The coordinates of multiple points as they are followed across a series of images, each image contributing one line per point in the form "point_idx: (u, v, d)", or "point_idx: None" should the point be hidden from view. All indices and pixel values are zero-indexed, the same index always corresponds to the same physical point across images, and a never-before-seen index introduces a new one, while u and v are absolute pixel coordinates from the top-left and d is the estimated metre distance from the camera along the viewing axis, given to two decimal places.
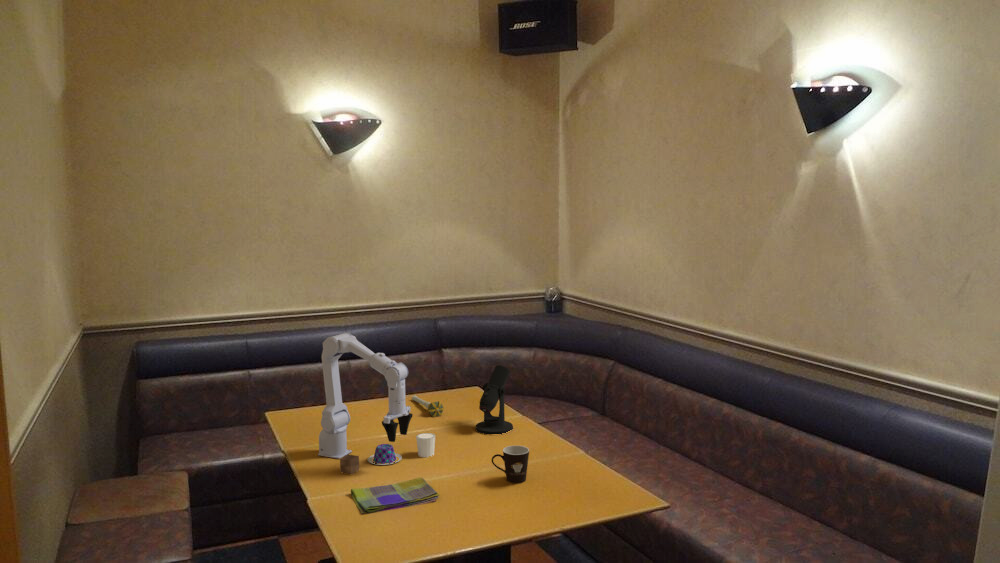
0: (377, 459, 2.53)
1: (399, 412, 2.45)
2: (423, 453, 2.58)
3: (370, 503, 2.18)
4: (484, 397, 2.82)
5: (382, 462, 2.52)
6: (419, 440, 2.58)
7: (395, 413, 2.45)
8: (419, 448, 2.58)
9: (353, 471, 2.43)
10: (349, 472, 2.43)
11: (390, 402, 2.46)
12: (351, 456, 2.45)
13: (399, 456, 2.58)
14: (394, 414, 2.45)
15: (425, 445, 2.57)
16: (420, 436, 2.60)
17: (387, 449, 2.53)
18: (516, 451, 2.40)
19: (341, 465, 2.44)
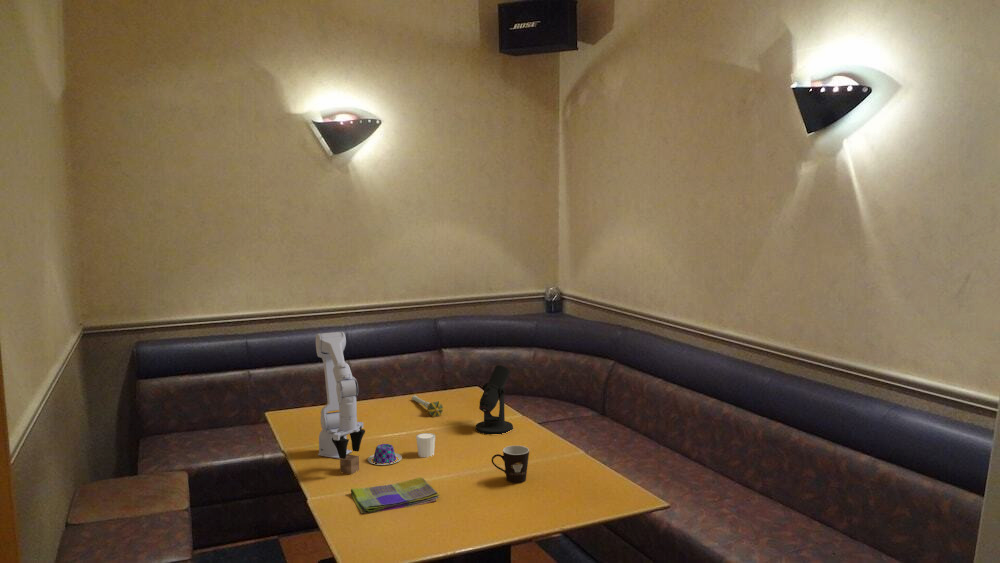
0: (377, 459, 2.53)
1: (350, 428, 2.41)
2: (423, 453, 2.58)
3: (370, 503, 2.18)
4: (484, 397, 2.82)
5: (382, 462, 2.52)
6: (419, 440, 2.58)
7: (346, 429, 2.41)
8: (419, 448, 2.58)
9: (353, 471, 2.43)
10: (349, 472, 2.43)
11: (340, 418, 2.41)
12: (351, 456, 2.45)
13: (399, 456, 2.58)
14: (345, 430, 2.41)
15: (425, 445, 2.57)
16: (420, 436, 2.60)
17: (387, 449, 2.53)
18: (516, 451, 2.40)
19: (341, 465, 2.44)
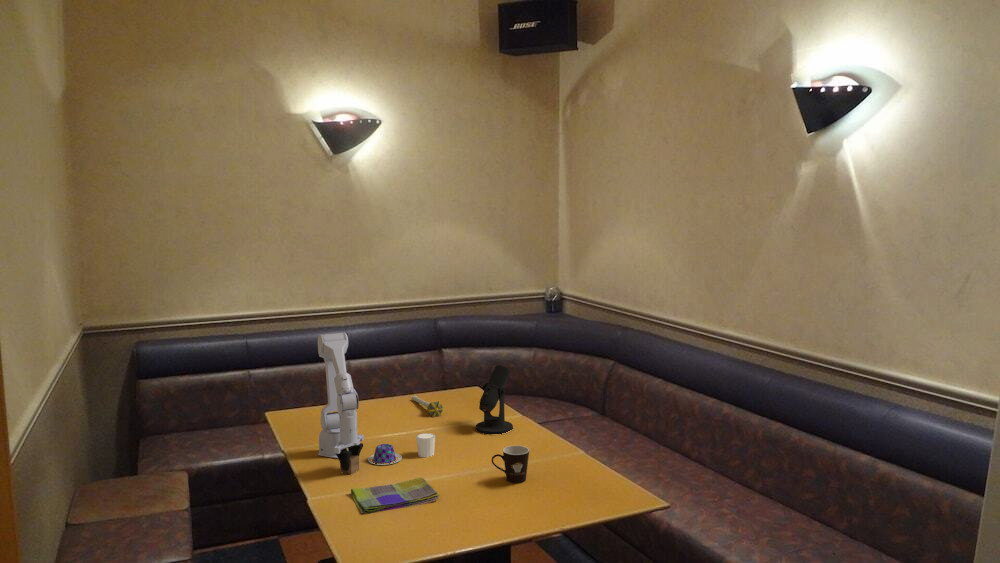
0: (377, 459, 2.53)
1: (350, 442, 2.41)
2: (423, 453, 2.58)
3: (370, 503, 2.18)
4: (484, 397, 2.82)
5: (382, 462, 2.52)
6: (419, 440, 2.58)
7: (346, 443, 2.41)
8: (419, 448, 2.58)
9: (353, 471, 2.43)
10: (349, 472, 2.43)
11: (341, 432, 2.42)
12: (351, 456, 2.45)
13: (399, 456, 2.58)
14: (345, 444, 2.41)
15: (425, 445, 2.57)
16: (420, 436, 2.60)
17: (387, 449, 2.53)
18: (516, 451, 2.40)
19: None
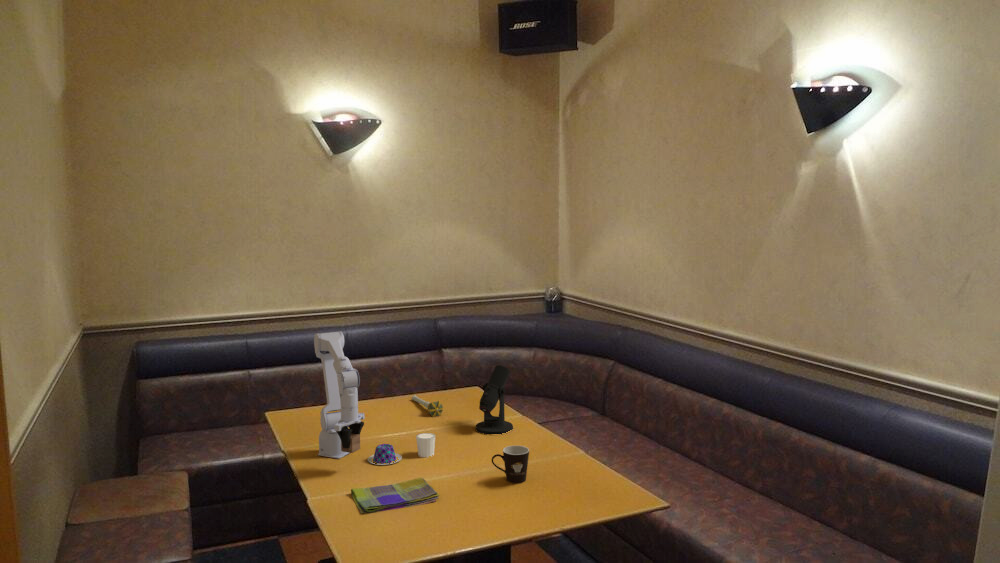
0: (376, 459, 2.53)
1: (351, 419, 2.41)
2: (423, 453, 2.58)
3: (370, 503, 2.18)
4: (484, 397, 2.82)
5: (381, 462, 2.52)
6: (419, 440, 2.58)
7: (347, 420, 2.41)
8: (419, 448, 2.58)
9: (354, 449, 2.43)
10: (350, 450, 2.42)
11: (341, 409, 2.41)
12: (352, 435, 2.45)
13: (399, 456, 2.58)
14: (346, 421, 2.41)
15: (425, 445, 2.57)
16: (420, 436, 2.60)
17: (386, 449, 2.53)
18: (516, 451, 2.40)
19: None
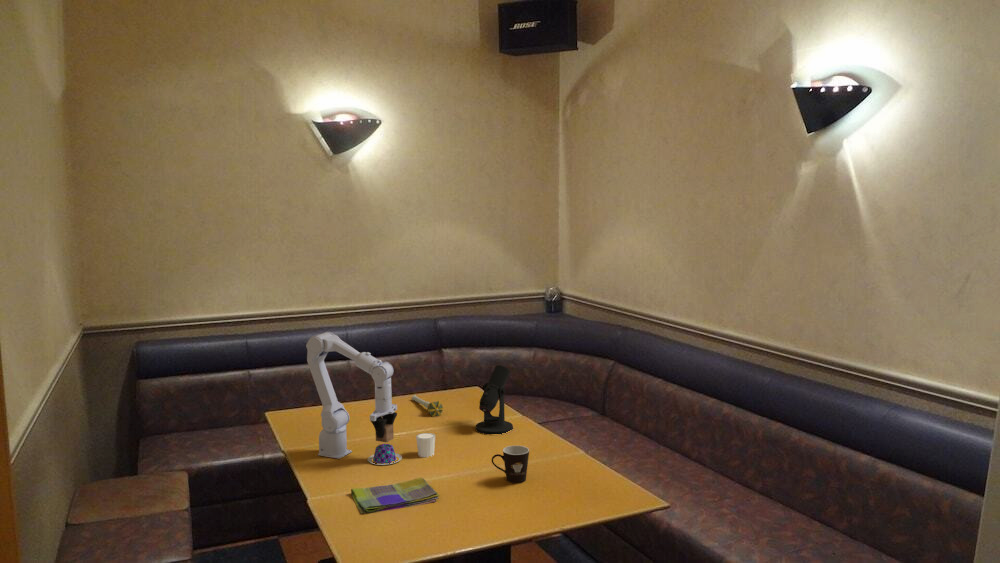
0: (376, 459, 2.53)
1: (385, 410, 2.51)
2: (423, 453, 2.58)
3: (370, 503, 2.18)
4: (484, 397, 2.82)
5: (381, 462, 2.52)
6: (419, 440, 2.58)
7: (381, 411, 2.51)
8: (419, 448, 2.58)
9: (388, 439, 2.53)
10: (384, 440, 2.53)
11: (376, 400, 2.52)
12: (385, 425, 2.55)
13: (399, 457, 2.58)
14: (380, 412, 2.51)
15: (425, 445, 2.57)
16: (420, 436, 2.60)
17: (386, 449, 2.53)
18: (516, 451, 2.40)
19: None
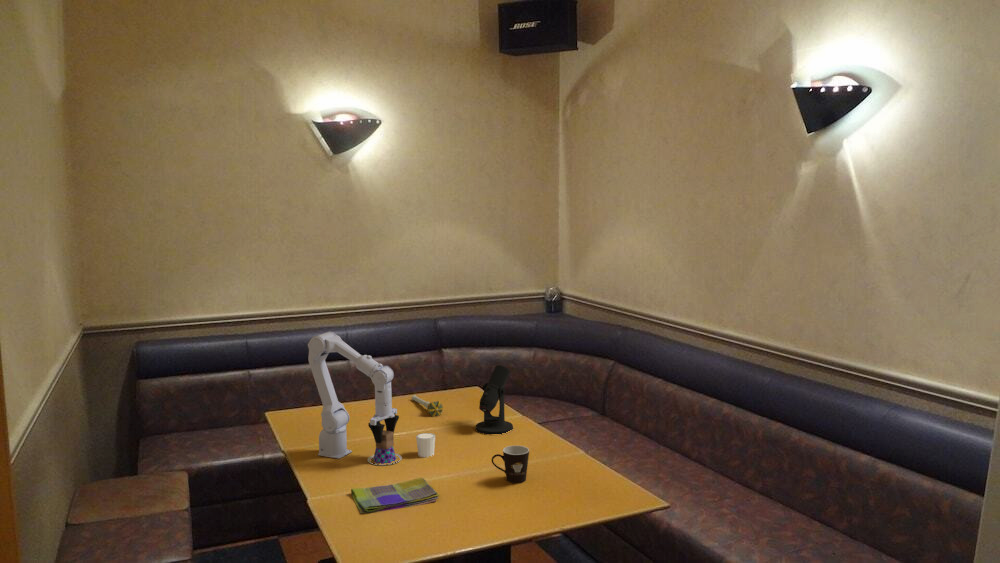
0: (376, 459, 2.53)
1: (385, 414, 2.52)
2: (423, 453, 2.58)
3: (370, 503, 2.18)
4: (484, 397, 2.82)
5: (380, 462, 2.52)
6: (419, 440, 2.58)
7: (381, 415, 2.51)
8: (419, 448, 2.58)
9: (388, 446, 2.54)
10: (384, 447, 2.53)
11: (376, 405, 2.52)
12: (386, 432, 2.55)
13: (399, 457, 2.58)
14: (380, 416, 2.51)
15: (425, 445, 2.57)
16: (420, 436, 2.60)
17: (386, 449, 2.53)
18: (516, 451, 2.40)
19: None
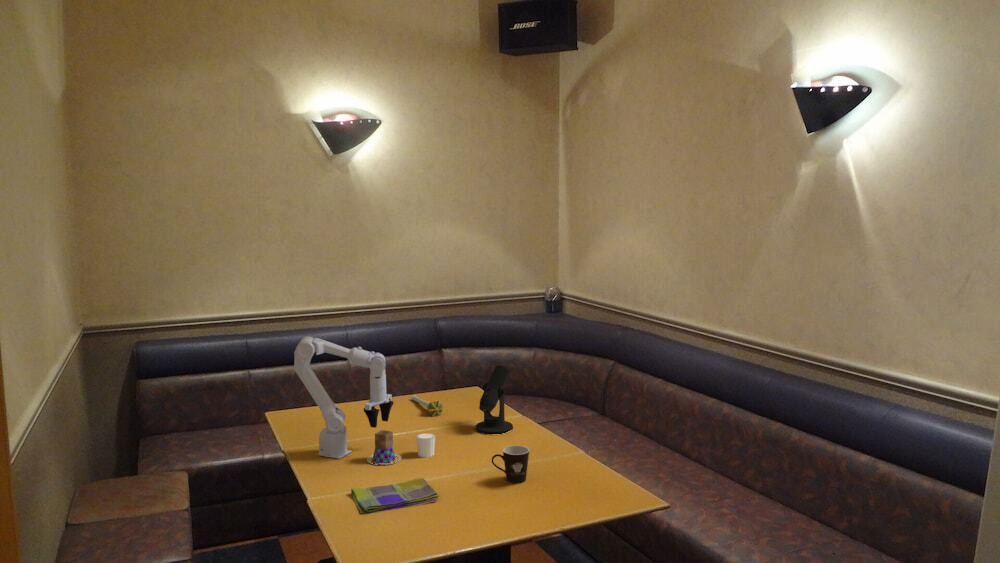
0: (375, 459, 2.53)
1: (380, 399, 2.59)
2: (423, 453, 2.58)
3: (370, 503, 2.18)
4: (484, 397, 2.82)
5: (380, 462, 2.52)
6: (419, 440, 2.58)
7: (376, 400, 2.59)
8: (419, 448, 2.58)
9: (387, 446, 2.54)
10: (384, 446, 2.53)
11: (371, 390, 2.59)
12: (385, 432, 2.55)
13: (399, 457, 2.58)
14: (375, 401, 2.59)
15: (425, 445, 2.57)
16: (420, 436, 2.60)
17: (385, 449, 2.53)
18: (516, 451, 2.40)
19: (376, 440, 2.54)
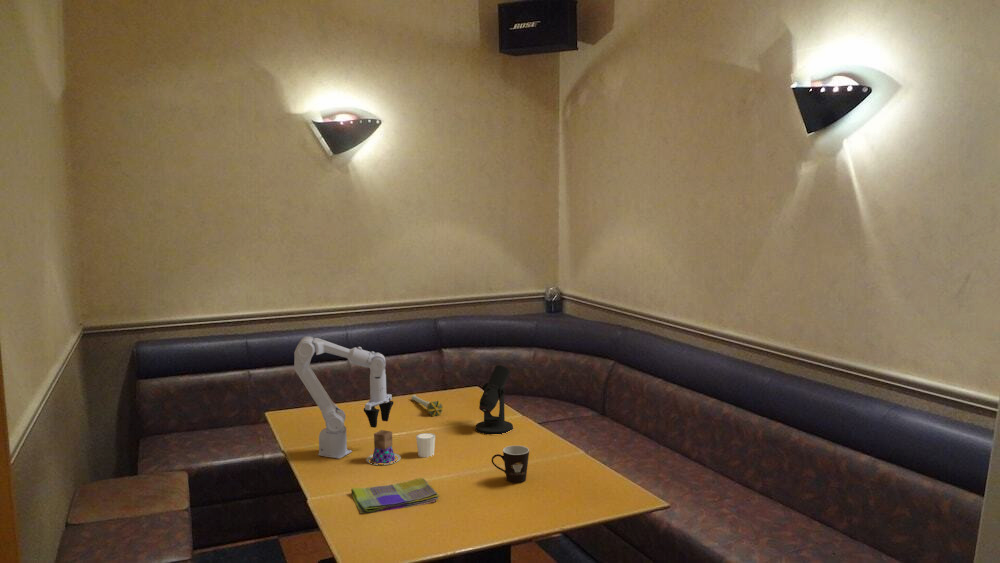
0: (375, 459, 2.53)
1: (380, 399, 2.59)
2: (423, 453, 2.58)
3: (370, 503, 2.18)
4: (484, 397, 2.82)
5: (379, 462, 2.52)
6: (419, 440, 2.58)
7: (376, 400, 2.59)
8: (419, 448, 2.58)
9: (386, 446, 2.54)
10: (383, 446, 2.53)
11: (371, 390, 2.59)
12: (384, 432, 2.55)
13: (398, 457, 2.58)
14: (375, 401, 2.59)
15: (425, 445, 2.57)
16: (420, 436, 2.60)
17: (384, 449, 2.53)
18: (516, 451, 2.40)
19: (375, 440, 2.54)
